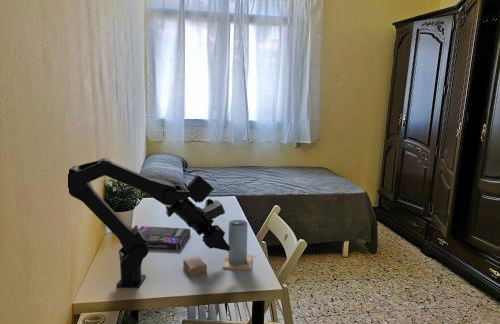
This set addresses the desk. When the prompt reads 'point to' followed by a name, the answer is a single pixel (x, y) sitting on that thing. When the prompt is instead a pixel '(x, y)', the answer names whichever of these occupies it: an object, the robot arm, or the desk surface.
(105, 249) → the desk surface
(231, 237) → the tumbler
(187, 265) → the walnut block
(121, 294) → the desk surface
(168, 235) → the box
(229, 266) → the coaster
